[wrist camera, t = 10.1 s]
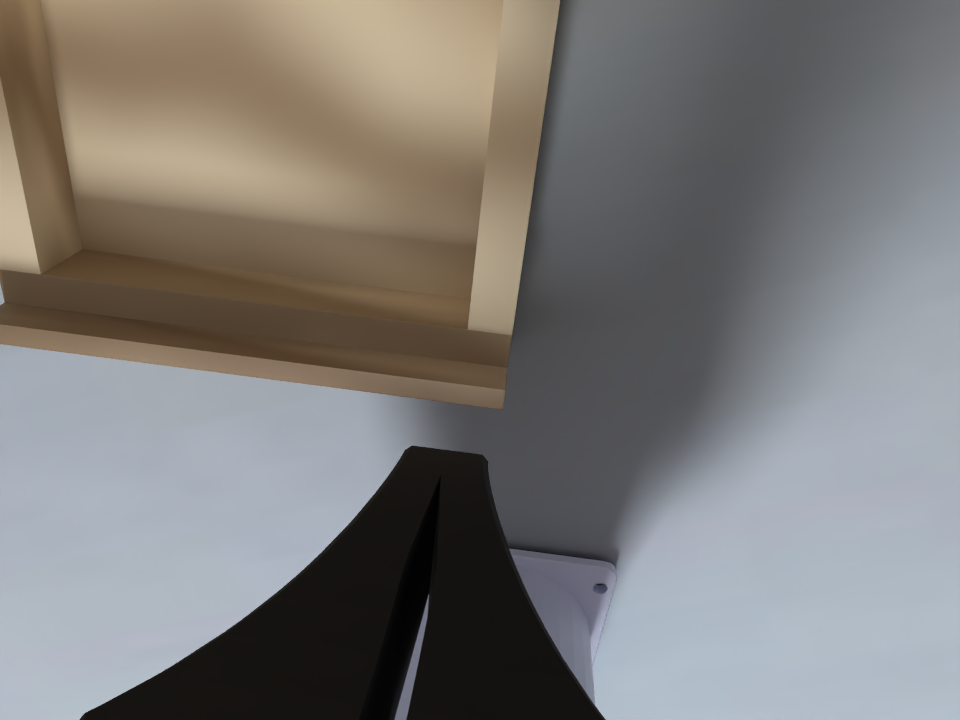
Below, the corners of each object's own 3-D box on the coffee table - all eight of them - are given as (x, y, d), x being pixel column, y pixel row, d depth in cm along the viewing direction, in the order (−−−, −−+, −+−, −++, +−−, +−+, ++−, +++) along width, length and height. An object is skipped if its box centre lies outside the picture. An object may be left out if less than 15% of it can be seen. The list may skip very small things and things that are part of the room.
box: (508, 345, 22) (502, 409, 19) (61, 287, 22) (-20, 341, 19) (574, -120, 16) (582, -142, 13) (-30, -192, 16) (-170, -232, 13)
